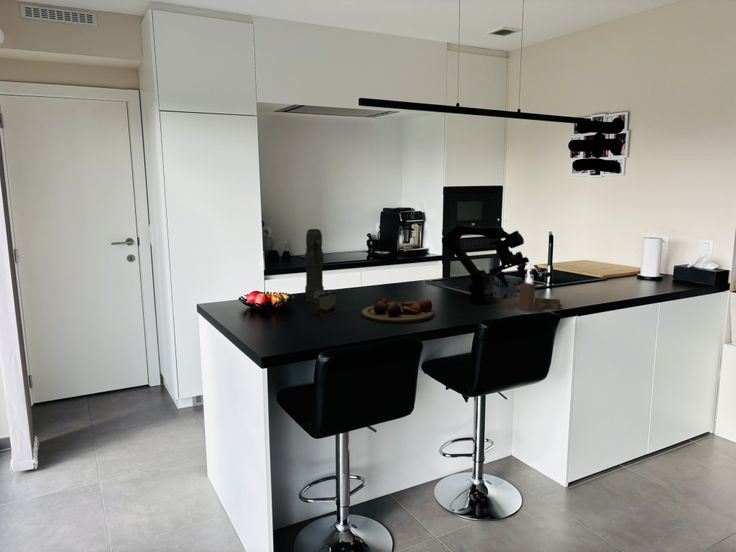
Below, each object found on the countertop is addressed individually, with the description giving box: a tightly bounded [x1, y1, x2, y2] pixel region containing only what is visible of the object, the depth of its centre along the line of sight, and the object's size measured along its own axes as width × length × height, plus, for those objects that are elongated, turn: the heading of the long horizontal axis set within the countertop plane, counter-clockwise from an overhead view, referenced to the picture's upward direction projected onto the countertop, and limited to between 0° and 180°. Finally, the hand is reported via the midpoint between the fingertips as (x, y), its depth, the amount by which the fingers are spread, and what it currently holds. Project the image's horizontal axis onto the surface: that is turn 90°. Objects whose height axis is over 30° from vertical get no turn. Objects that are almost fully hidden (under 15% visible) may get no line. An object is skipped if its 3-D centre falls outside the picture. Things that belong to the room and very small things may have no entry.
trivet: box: [513, 307, 539, 314], centre depth 256 cm, size 11×11×1 cm
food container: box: [314, 289, 338, 317], centre depth 249 cm, size 12×6×10 cm, turn 141°
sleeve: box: [534, 297, 561, 311], centre depth 265 cm, size 11×14×3 cm
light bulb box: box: [492, 275, 519, 300], centre depth 286 cm, size 11×7×11 cm, turn 105°
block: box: [517, 282, 536, 312], centre depth 254 cm, size 5×5×12 cm
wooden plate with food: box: [360, 296, 435, 324], centre depth 247 cm, size 32×32×8 cm
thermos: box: [304, 228, 325, 304], centre depth 272 cm, size 9×12×35 cm
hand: (515, 283), depth 261 cm, fingers open, 9 cm apart
